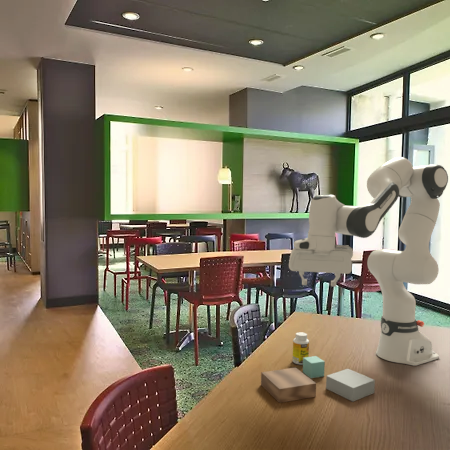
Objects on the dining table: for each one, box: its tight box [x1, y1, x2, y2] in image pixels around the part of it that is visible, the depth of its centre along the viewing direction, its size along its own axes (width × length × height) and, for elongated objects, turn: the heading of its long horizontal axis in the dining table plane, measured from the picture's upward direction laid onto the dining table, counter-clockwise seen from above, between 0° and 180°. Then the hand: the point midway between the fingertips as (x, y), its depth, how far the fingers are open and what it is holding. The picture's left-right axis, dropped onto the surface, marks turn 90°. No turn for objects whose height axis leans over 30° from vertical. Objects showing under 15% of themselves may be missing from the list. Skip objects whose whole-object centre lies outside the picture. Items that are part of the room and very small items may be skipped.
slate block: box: [325, 368, 376, 402], centre depth 132 cm, size 10×10×4 cm
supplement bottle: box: [291, 331, 310, 366], centre depth 153 cm, size 6×6×10 cm
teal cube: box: [302, 355, 326, 379], centre depth 144 cm, size 5×5×5 cm
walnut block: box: [260, 367, 317, 404], centre depth 131 cm, size 12×12×4 cm
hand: (318, 285), depth 144 cm, fingers open, 8 cm apart
